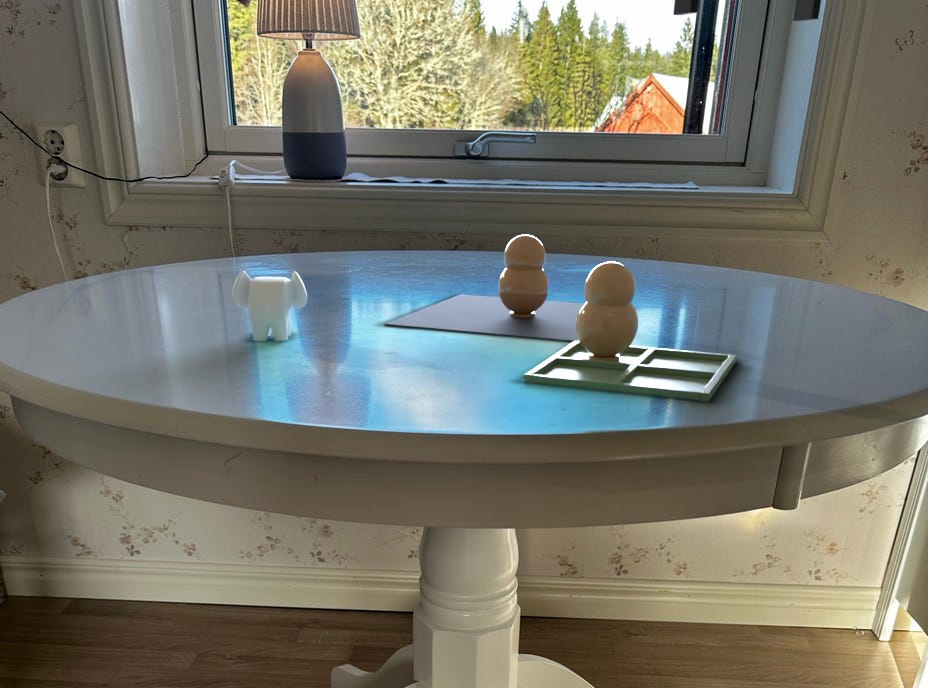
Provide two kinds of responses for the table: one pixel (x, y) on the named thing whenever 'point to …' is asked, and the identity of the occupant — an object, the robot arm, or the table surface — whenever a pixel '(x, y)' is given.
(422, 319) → the mat
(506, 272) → the tan snowman shaped figurine
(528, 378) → the green divided tray
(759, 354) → the table surface
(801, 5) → the robot arm
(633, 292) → the snowman figurine
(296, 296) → the elephant figurine
